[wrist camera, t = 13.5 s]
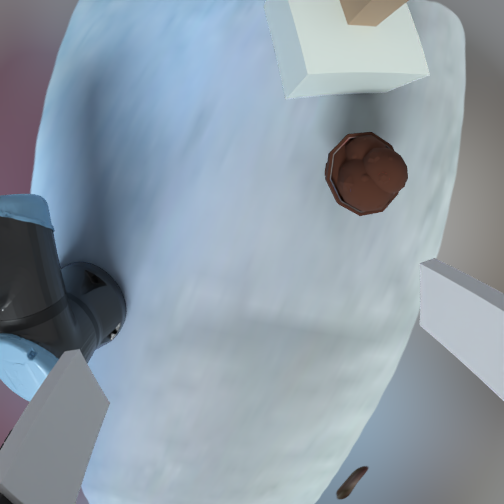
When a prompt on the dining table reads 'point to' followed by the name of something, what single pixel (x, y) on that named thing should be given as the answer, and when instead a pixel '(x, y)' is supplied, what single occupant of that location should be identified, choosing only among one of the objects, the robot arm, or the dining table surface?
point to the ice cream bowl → (365, 173)
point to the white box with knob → (344, 46)
